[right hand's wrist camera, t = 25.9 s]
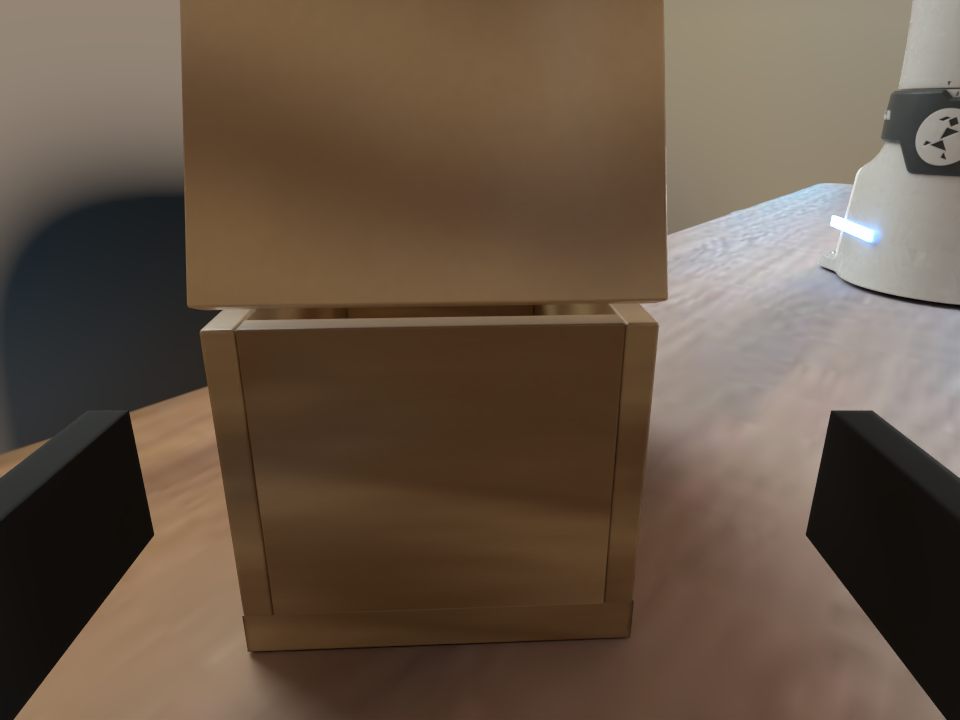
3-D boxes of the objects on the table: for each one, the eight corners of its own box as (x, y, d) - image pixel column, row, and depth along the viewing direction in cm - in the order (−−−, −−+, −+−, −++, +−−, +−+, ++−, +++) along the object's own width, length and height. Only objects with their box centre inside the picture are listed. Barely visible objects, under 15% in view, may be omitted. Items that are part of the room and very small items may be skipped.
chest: (339, 399, 32) (324, 217, 29) (545, 394, 32) (551, 215, 29) (247, 651, 17) (196, 330, 14) (630, 637, 18) (661, 322, 15)
